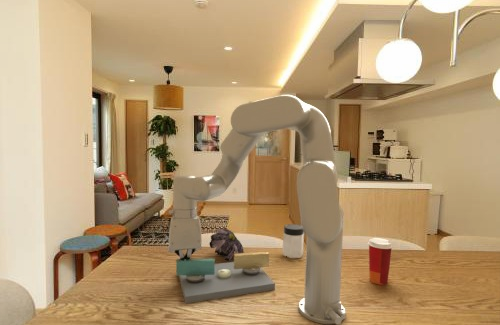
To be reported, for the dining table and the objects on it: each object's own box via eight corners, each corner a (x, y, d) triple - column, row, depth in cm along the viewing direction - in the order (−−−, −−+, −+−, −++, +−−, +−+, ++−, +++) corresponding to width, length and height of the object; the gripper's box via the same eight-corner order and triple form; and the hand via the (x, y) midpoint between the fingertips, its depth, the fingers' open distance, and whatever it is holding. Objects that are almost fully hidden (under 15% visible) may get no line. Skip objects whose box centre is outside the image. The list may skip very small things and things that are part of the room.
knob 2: (235, 276, 96) (235, 258, 96) (232, 268, 102) (232, 251, 102) (270, 273, 99) (270, 256, 99) (265, 266, 105) (266, 249, 104)
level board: (274, 289, 93) (275, 278, 93) (185, 303, 84) (185, 291, 83) (253, 264, 112) (253, 255, 112) (178, 273, 102) (178, 264, 102)
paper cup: (388, 277, 103) (390, 238, 102) (392, 288, 95) (395, 246, 95) (364, 274, 105) (366, 236, 104) (367, 284, 98) (369, 243, 97)
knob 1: (214, 274, 98) (214, 256, 98) (214, 282, 92) (214, 263, 92) (178, 274, 97) (178, 256, 96) (175, 283, 91) (175, 264, 90)
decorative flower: (224, 241, 108) (210, 221, 120) (212, 268, 110) (199, 245, 122) (255, 245, 116) (239, 226, 129) (243, 270, 118) (228, 248, 130)
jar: (307, 255, 122) (308, 227, 121) (294, 260, 117) (295, 230, 116) (291, 249, 129) (292, 222, 128) (278, 253, 124) (279, 225, 123)
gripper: (161, 217, 89) (161, 276, 90) (210, 214, 94) (209, 270, 95) (160, 211, 96) (160, 266, 97) (206, 209, 101) (205, 261, 102)
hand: (184, 268), depth 96 cm, fingers closed
